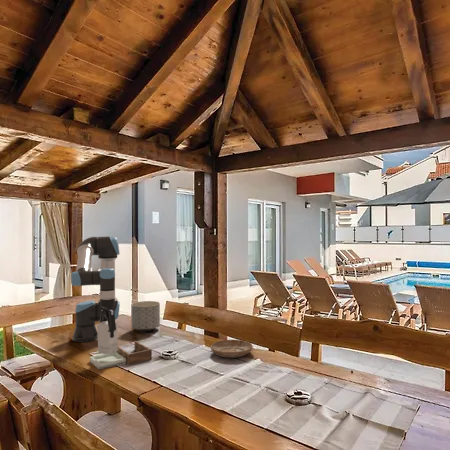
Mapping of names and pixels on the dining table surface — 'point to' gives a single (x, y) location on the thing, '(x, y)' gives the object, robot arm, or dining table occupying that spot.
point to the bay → (136, 353)
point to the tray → (107, 360)
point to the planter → (145, 315)
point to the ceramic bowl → (231, 348)
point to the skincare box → (106, 339)
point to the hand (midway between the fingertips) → (107, 341)
